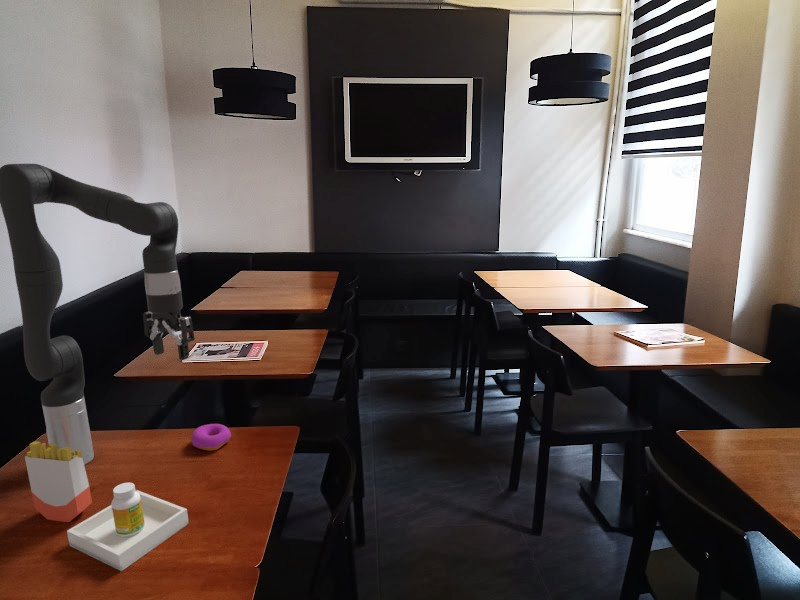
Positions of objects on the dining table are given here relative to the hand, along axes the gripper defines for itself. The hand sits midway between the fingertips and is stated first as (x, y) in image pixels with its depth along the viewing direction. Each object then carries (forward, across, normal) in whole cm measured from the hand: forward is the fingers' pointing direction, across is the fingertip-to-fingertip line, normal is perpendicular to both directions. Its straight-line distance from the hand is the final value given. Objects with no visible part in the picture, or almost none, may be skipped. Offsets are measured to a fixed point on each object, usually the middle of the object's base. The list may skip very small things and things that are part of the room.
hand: (171, 356), depth 132 cm
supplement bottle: (+29, +10, -23) cm, 38 cm away
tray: (+30, +10, -23) cm, 39 cm away
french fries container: (+30, -9, -25) cm, 40 cm away
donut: (+30, -5, +13) cm, 33 cm away
